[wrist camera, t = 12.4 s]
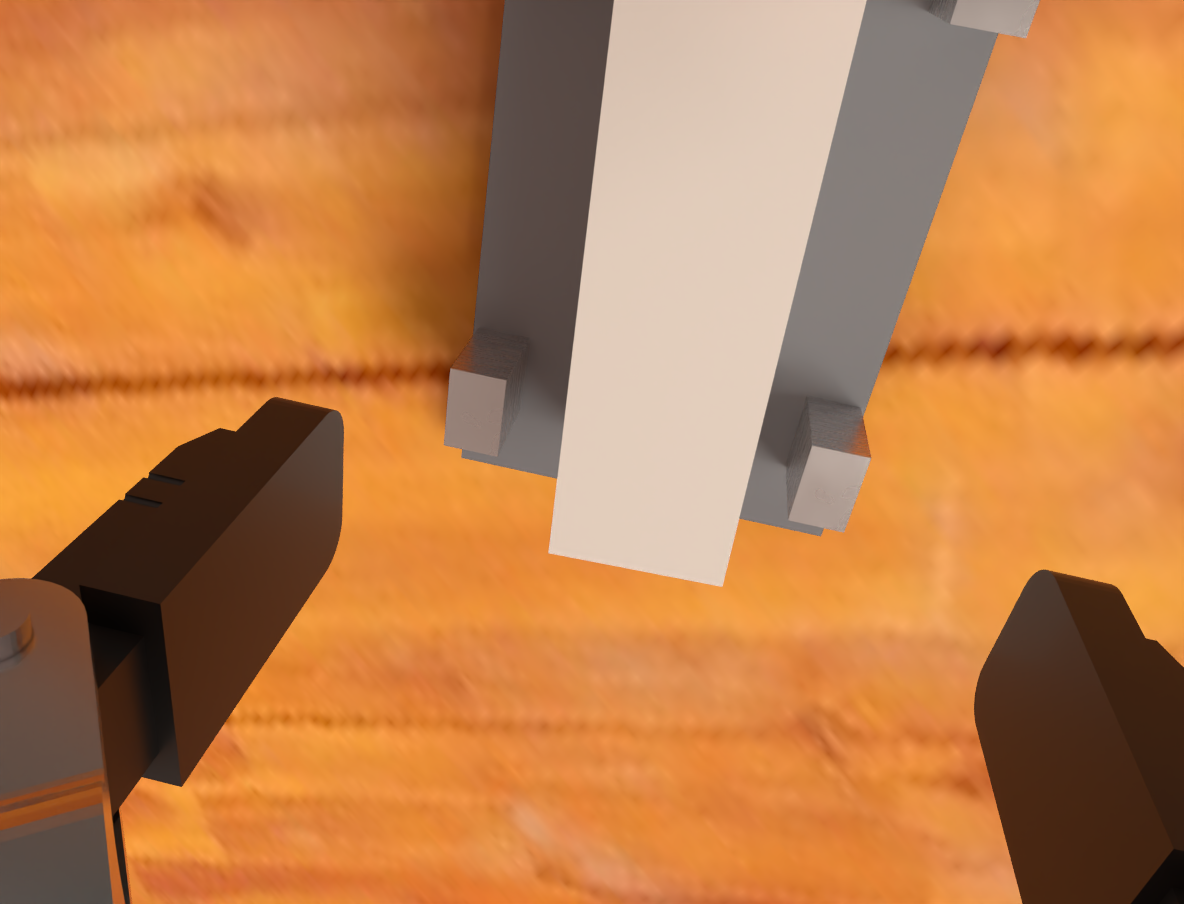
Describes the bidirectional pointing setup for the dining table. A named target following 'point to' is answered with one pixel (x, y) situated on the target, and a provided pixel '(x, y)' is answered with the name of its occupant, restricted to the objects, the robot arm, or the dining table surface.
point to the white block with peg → (692, 269)
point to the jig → (829, 268)
